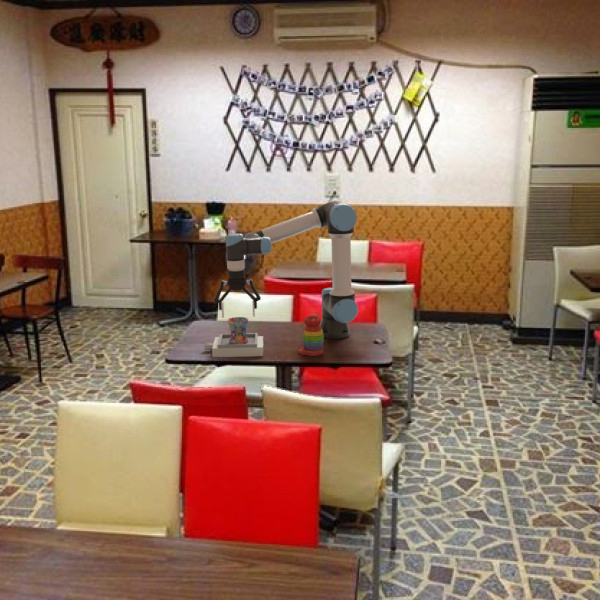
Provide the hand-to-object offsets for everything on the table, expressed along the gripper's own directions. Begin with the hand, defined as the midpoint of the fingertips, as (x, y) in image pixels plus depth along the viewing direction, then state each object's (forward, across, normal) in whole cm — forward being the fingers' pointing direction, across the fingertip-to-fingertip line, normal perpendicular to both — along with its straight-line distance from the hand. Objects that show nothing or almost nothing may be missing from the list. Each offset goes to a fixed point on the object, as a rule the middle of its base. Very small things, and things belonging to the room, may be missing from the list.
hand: (238, 316), depth 296 cm
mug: (+12, 0, 0) cm, 12 cm away
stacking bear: (+17, -32, +5) cm, 37 cm away
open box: (+16, +3, 0) cm, 16 cm away
